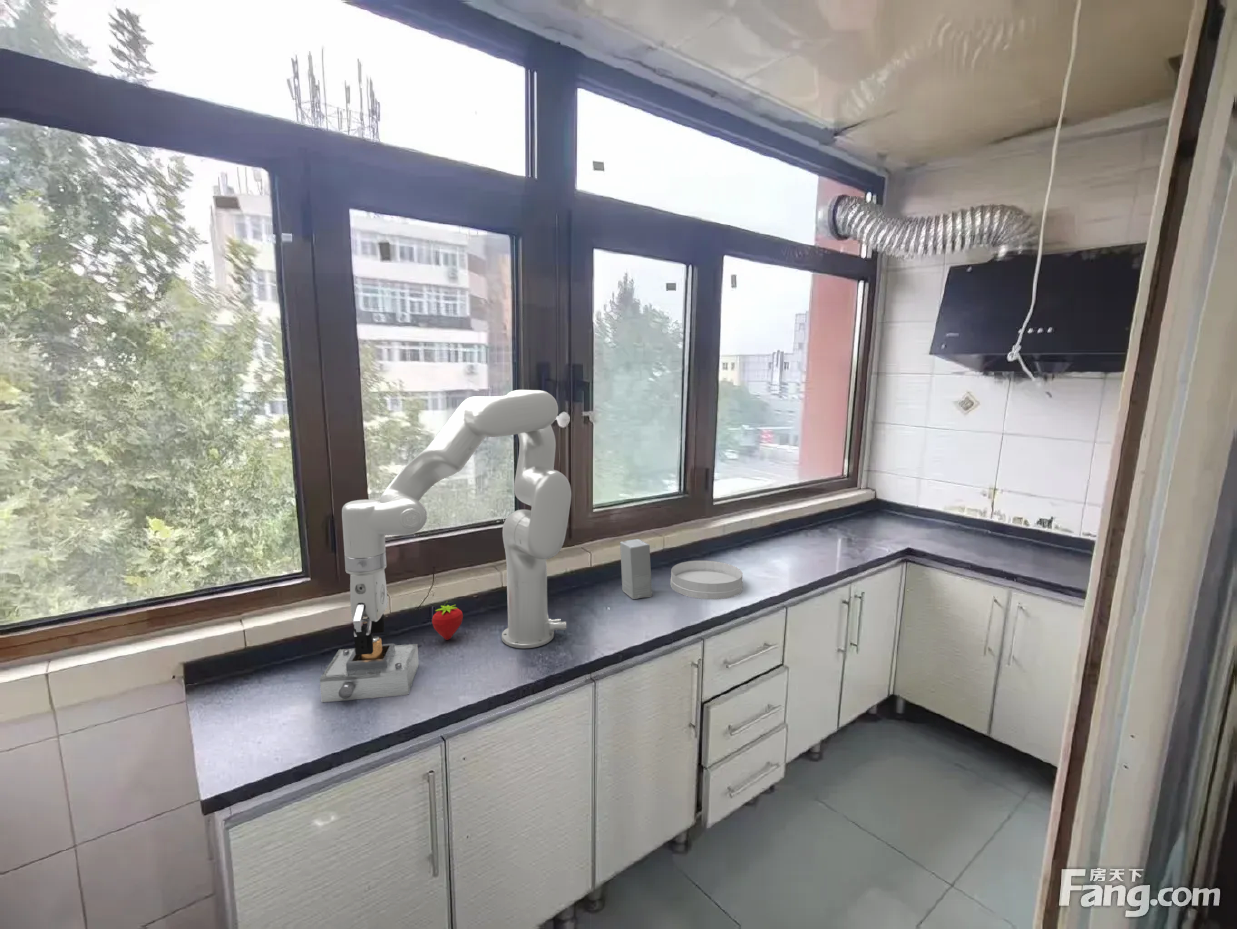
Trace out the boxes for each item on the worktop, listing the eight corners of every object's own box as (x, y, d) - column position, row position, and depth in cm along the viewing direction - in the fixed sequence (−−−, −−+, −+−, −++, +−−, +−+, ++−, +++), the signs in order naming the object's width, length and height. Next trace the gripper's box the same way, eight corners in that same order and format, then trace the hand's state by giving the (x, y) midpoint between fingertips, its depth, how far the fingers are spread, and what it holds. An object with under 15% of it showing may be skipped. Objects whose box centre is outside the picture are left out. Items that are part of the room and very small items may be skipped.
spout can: (385, 672, 118) (382, 628, 117) (382, 680, 115) (378, 635, 114) (365, 675, 117) (361, 630, 116) (361, 683, 114) (357, 638, 113)
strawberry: (468, 638, 136) (467, 599, 135) (439, 648, 131) (437, 607, 130) (457, 631, 140) (455, 592, 139) (428, 640, 135) (426, 600, 134)
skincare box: (652, 597, 164) (653, 544, 161) (629, 600, 161) (630, 547, 159) (640, 587, 171) (641, 537, 169) (619, 590, 169) (619, 539, 166)
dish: (705, 570, 189) (705, 556, 188) (757, 589, 171) (758, 573, 171) (655, 584, 175) (655, 569, 174) (707, 606, 158) (708, 589, 157)
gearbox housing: (418, 665, 123) (417, 637, 122) (406, 700, 109) (404, 669, 109) (340, 671, 120) (338, 643, 119) (318, 708, 107) (315, 676, 106)
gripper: (375, 575, 104) (380, 661, 107) (394, 548, 121) (398, 623, 124) (331, 577, 103) (337, 664, 105) (357, 550, 120) (362, 626, 122)
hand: (370, 642), depth 115 cm, fingers open, 9 cm apart
